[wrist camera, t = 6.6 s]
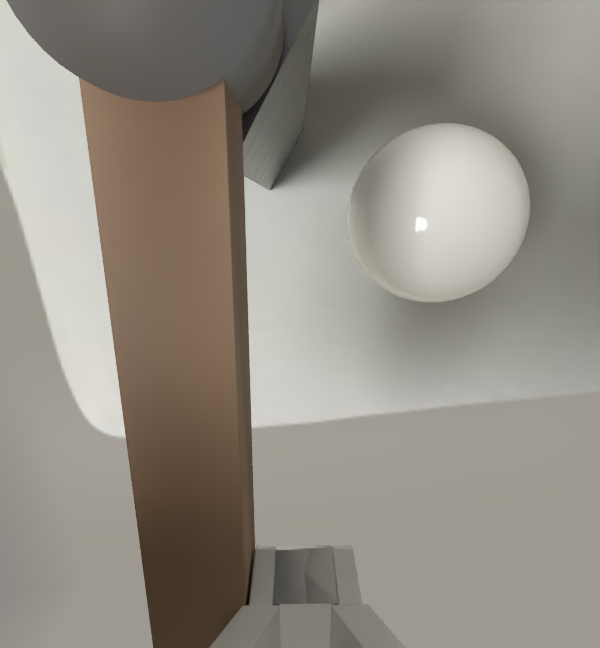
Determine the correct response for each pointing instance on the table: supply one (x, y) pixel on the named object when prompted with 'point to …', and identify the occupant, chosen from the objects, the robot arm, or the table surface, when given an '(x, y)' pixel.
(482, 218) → the lightbulb
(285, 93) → the post
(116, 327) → the hammer
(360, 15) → the table surface
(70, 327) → the table surface
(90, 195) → the table surface
